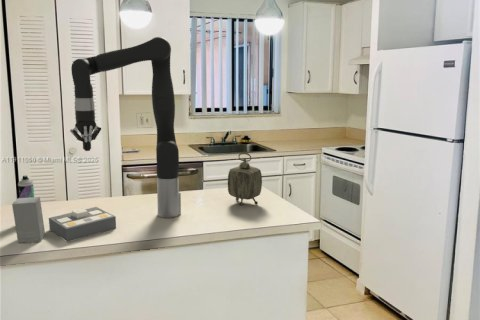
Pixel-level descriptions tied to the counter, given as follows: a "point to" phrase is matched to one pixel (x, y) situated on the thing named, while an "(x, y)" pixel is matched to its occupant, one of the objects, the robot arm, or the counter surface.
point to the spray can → (26, 188)
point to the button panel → (82, 225)
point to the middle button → (79, 213)
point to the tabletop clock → (244, 181)
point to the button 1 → (63, 220)
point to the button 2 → (95, 212)
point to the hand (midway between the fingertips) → (87, 150)
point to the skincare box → (28, 219)
